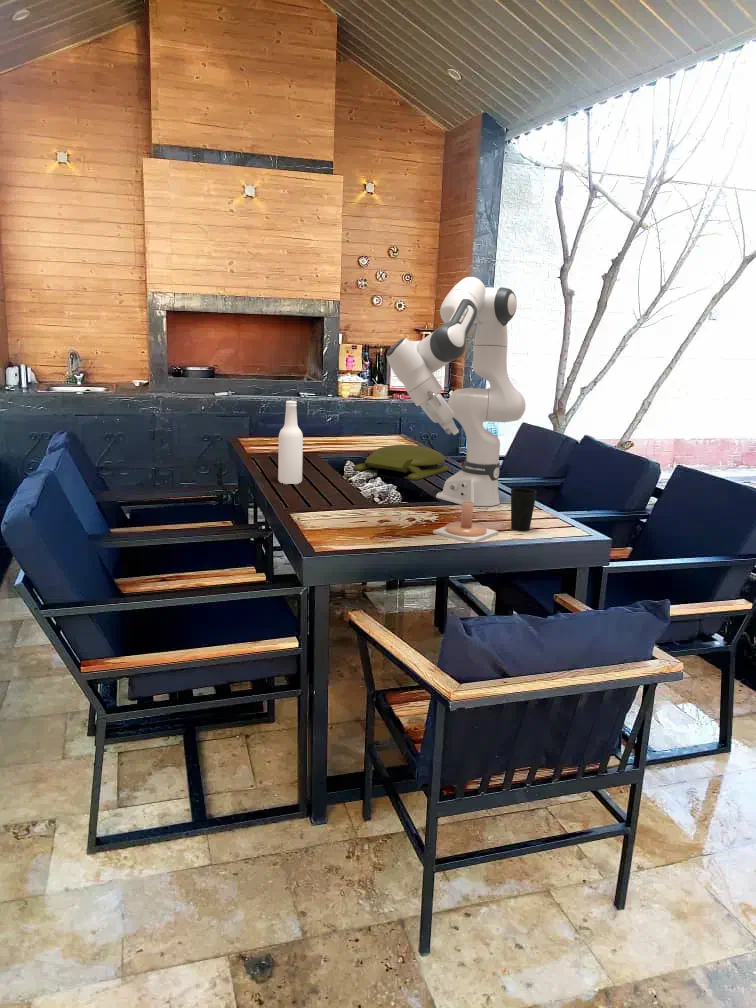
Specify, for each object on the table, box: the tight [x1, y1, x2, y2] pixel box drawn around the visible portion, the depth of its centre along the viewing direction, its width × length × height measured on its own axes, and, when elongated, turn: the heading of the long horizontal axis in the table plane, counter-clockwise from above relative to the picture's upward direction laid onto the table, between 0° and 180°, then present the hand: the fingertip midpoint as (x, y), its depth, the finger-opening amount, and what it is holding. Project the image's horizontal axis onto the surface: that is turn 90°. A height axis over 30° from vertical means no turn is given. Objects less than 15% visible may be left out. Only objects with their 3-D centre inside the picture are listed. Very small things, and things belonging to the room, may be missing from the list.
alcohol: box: [277, 400, 304, 485], centre depth 278 cm, size 9×9×30 cm
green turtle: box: [352, 444, 449, 481], centre depth 315 cm, size 35×31×10 cm
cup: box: [510, 487, 537, 532], centre depth 231 cm, size 8×8×12 cm
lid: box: [445, 502, 488, 537], centre depth 223 cm, size 12×12×8 cm
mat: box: [432, 525, 499, 544], centre depth 224 cm, size 14×14×1 cm
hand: (453, 433), depth 216 cm, fingers open, 8 cm apart
